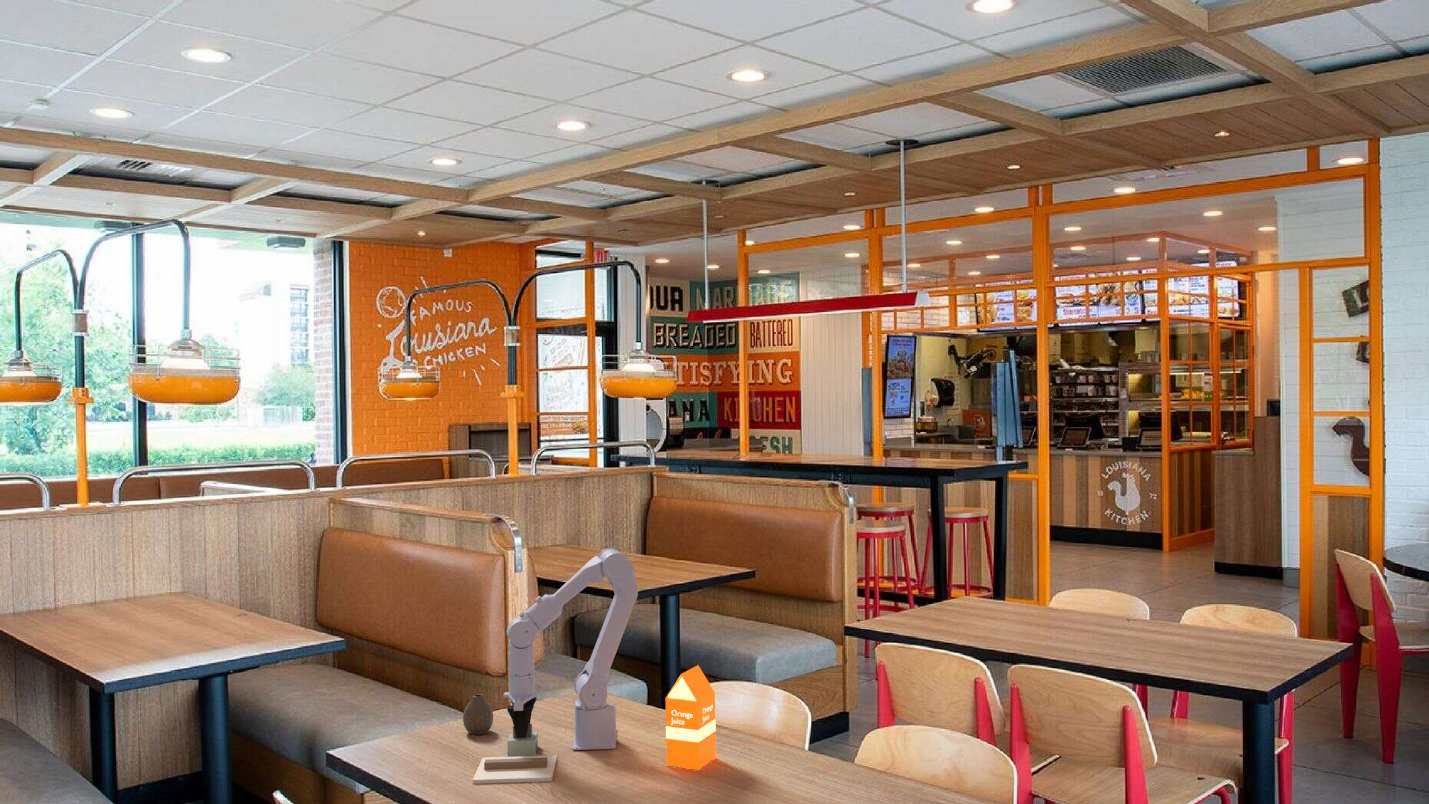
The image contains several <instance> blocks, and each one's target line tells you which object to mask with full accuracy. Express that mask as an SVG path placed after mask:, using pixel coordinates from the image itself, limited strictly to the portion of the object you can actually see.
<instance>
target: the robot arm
mask: <svg viewBox="0 0 1429 804" xmlns="http://www.w3.org/2000/svg"><path fill="white" fill-rule="evenodd" d="M604 578H606V579H607V581H608V582H609V584H610V587H611V589H612V590H613V593H614V595H613V598H612V600H611V603H610V606H609V608H608V611H607V614H606V617H605V619H604V621H603V625H602V627H601V629H600V631H599V634H598V637H597V639H596V643H595V645H594V648H593V650H592V653H591V655H590V659H589V660H588V661H587V662H586V664H585V665H584V668H583V670H582V671H581V672H580V673H579V674H578V676H576V677H575V680H574V683H573V689H574V691H575V693H576V695H577V696H578V697H577V700H576V701H575V703H574V733H575V735H574V739H573V744H572V745H573V746H572V751H581V750H582V751H584V750H586V751H588V750H614V749H616V747H617V746H616V745H617V739H618V735H619V734H618V729H617V707H616V704H608V702H607V698H608V684H609V683H610V675H611V674H610V673H611V667H612V664H613V663H614V662H613V661H614V659H615V656H616V654H617V651H618V650H619V647H620V644H621V641H622V638H623V636H624V634H625V630H626V627H627V626H628V622H629V620H630V617H631V615H632V613H633V609H634V606H635V603H636V601H637V599H638V596H639V590H638V585H637V581H636V576H635V568H634V565H632V563H631V561H630V560H629V558H628V557H627V556H626V555H624V554H623V553H622V552H621V550H618V549H616V548H614V547H608V548H605V549H603V550H601V551H600V553H599V554H598V556H597V555H595V556H594V557H592V558H591V559H590V560H589V561H587V563H586V564H584V565H583V566H582V567H581V568H580V569H579V570H578V571H577V572H576V573H575V574H573V575H572V577H570V578H569V579H568V581H566V582H565V583H564V584H563V585H561V587H560V588H559V589H557V591H556V592H555V593H553V594H544V595H542V596H540V595H538V596H537V597H536V598H535V599H534V600H535V602H534V604H532V605H531V606H530V607H529V608H527V609H526V610H525V611H524V612H523V611H521V612H520V613H519V614H518V616H519V617H516V618H513V619H512V620H511V621H510V622H509V623H508V625H507V628H506V631H505V632H506V636H507V637H508V639H509V641H508V647H507V648H508V652H507V654H508V655H507V658H508V659H507V660H508V661H507V662H508V663H507V665H508V668H507V670H508V692H507V691H505V692H504V693H503V698H504V699H505V698H508V699H509V701H510V703H511V705H508V706H507V708H506V709H507V712H508V714H509V716H510V718H511V720H512V724H513V725H514V730H515V734H516V737H517V738H526V736H527V731H528V724H531V720H532V719H531V718H532V713H533V710H534V708H535V703H536V701H537V691H536V685H535V684H536V679H535V678H536V677H535V676H536V675H535V674H536V673H535V671H536V670H535V651H534V643H535V641H536V637H537V634H540V633H542V631H544V630H545V629H546V628H548V626H549V625H551V624H552V623H553V622H554V621H555V620H556V619H558V618H559V617H560V616H561V615H562V612H563V607H564V605H565V604H567V602H569V601H570V600H572V599H573V598H574V597H576V596H577V595H578V594H579V593H580V592H582V591H583V590H584V589H586V588H587V587H588V586H589V585H591V584H596V583H597V584H598V583H605V579H604Z"/></svg>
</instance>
